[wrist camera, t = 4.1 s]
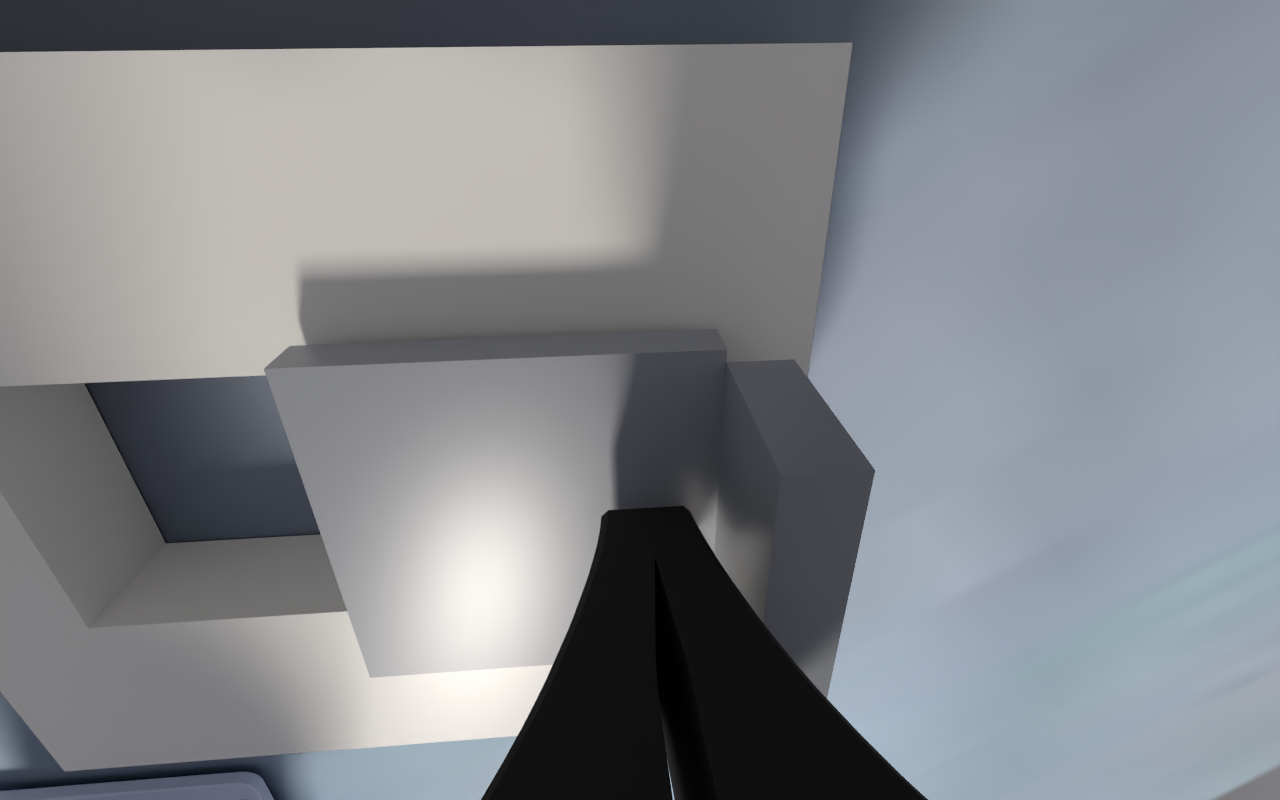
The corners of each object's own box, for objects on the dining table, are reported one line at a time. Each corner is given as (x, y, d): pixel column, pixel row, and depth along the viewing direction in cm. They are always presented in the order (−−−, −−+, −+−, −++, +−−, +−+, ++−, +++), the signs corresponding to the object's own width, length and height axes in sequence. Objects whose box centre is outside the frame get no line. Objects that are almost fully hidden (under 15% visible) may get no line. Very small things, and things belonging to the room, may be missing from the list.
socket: (739, 635, 17) (762, 716, 14) (135, 677, 16) (64, 771, 13) (796, 50, 10) (853, 42, 8) (-252, 63, 9) (-511, 57, 7)
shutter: (749, 616, 12) (804, 802, 9) (383, 642, 12) (308, 846, 9) (780, 326, 9) (878, 454, 6) (289, 346, 9) (123, 494, 6)
